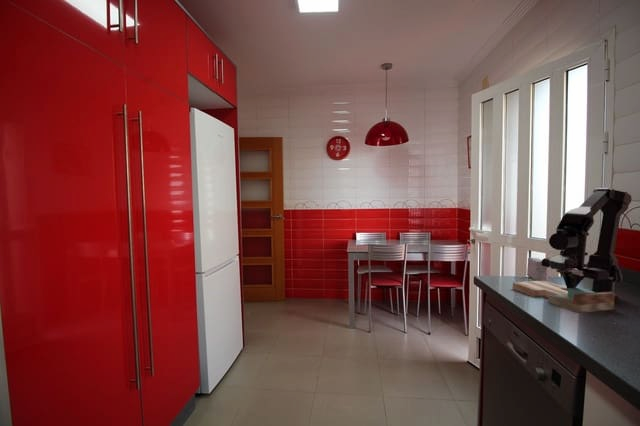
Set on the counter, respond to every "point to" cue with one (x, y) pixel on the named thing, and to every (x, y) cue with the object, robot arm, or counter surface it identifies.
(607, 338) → the counter surface
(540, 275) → the medicine box
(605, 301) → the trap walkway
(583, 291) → the teal block
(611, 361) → the counter surface
